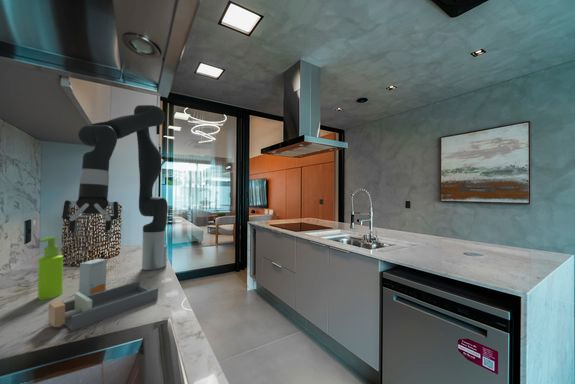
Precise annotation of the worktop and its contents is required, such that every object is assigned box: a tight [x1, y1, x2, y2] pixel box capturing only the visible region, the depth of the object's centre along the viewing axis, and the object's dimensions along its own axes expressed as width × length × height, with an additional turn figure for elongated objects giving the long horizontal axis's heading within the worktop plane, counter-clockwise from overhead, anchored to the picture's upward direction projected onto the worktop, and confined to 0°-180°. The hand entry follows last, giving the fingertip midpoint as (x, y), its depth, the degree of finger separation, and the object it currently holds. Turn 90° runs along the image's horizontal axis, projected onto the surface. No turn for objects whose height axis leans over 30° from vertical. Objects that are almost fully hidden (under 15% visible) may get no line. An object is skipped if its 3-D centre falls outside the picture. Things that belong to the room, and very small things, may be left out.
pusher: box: [47, 291, 92, 328], centre depth 64 cm, size 7×10×5 cm
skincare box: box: [78, 258, 108, 296], centre depth 80 cm, size 6×4×12 cm
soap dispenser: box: [37, 236, 64, 300], centre depth 80 cm, size 6×7×20 cm
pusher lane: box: [63, 280, 159, 332], centre depth 73 cm, size 22×12×4 cm, turn 148°
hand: (90, 232), depth 78 cm, fingers open, 8 cm apart
